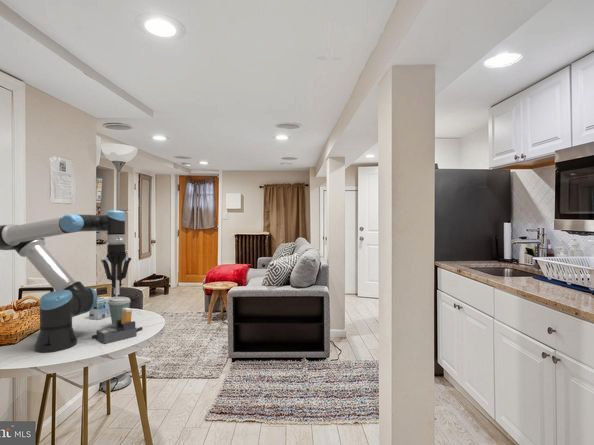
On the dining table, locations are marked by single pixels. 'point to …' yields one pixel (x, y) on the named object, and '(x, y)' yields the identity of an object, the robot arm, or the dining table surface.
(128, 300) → the disposable coffee cup
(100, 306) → the light bulb box
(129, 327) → the labelled grey housing
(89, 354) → the dining table surface
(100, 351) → the dining table surface
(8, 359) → the dining table surface
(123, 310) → the lever
